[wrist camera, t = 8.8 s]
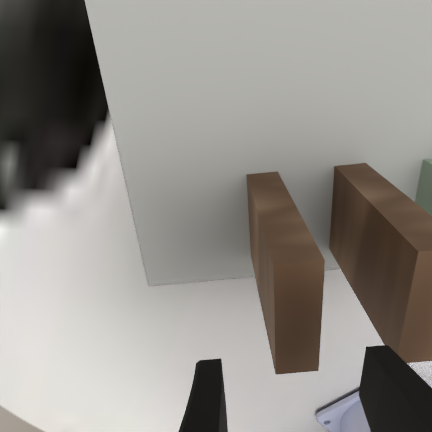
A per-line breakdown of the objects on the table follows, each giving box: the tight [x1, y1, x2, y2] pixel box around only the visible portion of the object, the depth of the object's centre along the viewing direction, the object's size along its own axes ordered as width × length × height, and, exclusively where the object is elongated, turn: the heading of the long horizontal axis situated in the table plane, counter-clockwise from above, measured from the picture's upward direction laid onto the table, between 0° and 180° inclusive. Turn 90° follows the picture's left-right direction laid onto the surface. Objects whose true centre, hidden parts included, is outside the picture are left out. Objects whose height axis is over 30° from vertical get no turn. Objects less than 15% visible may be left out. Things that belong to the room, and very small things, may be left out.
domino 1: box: [246, 171, 325, 374], centre depth 16 cm, size 2×5×8 cm, turn 6°
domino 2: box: [329, 163, 432, 363], centre depth 16 cm, size 2×5×8 cm, turn 5°
